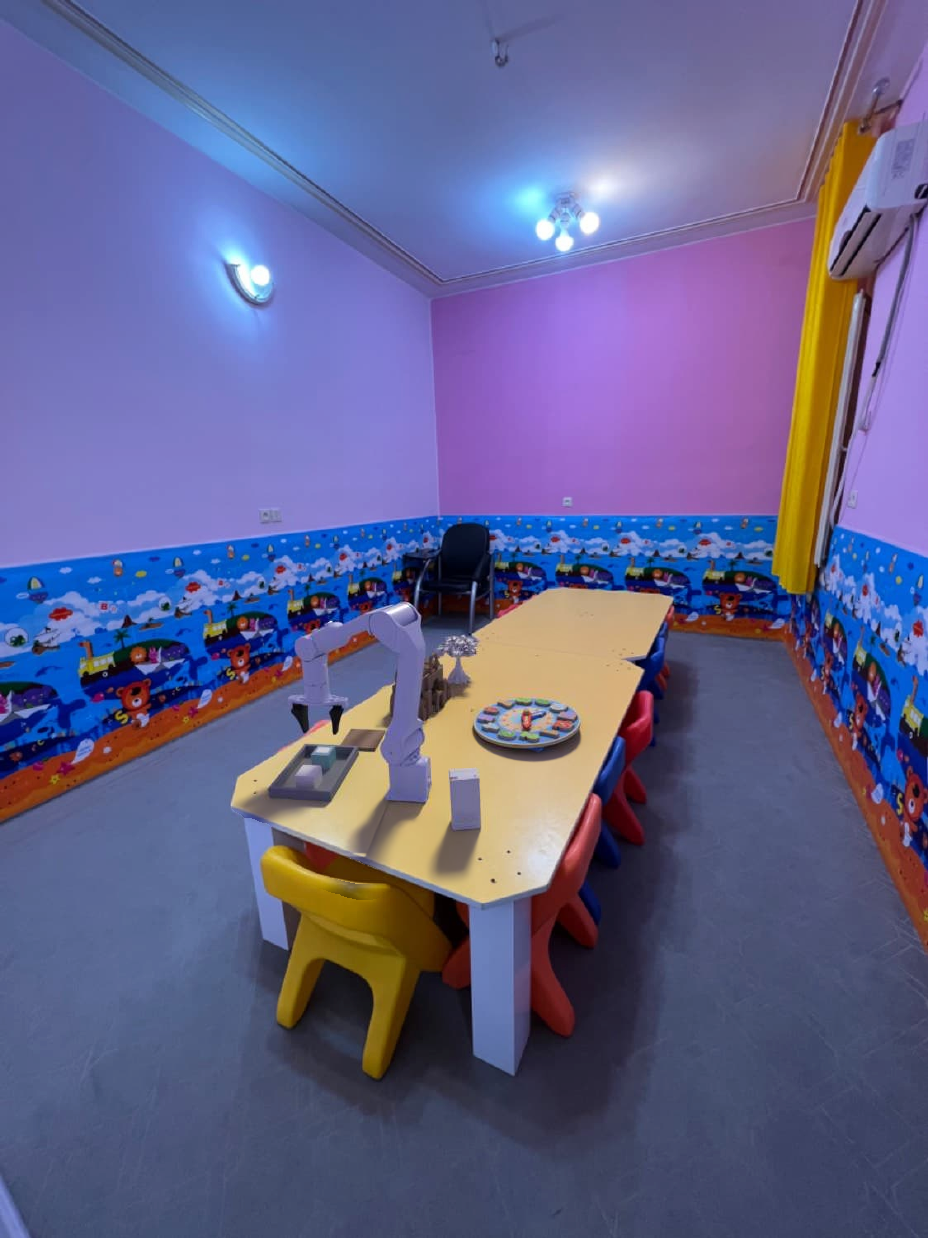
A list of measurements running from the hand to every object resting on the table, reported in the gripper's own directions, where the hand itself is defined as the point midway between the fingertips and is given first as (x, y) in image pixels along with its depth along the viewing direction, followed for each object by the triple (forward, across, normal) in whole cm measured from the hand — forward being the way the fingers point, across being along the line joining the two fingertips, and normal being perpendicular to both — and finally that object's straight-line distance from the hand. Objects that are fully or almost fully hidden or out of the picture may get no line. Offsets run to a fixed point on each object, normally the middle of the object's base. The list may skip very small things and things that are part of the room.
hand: (320, 732), depth 121 cm
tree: (+10, -28, -58) cm, 65 cm away
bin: (+10, 0, +4) cm, 11 cm away
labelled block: (+9, 0, 0) cm, 9 cm away
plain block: (+9, 0, +9) cm, 13 cm away
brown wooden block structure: (+10, -18, -36) cm, 42 cm away
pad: (+10, -6, -12) cm, 17 cm away
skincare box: (+9, -38, +19) cm, 43 cm away
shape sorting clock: (+9, -52, -24) cm, 58 cm away
